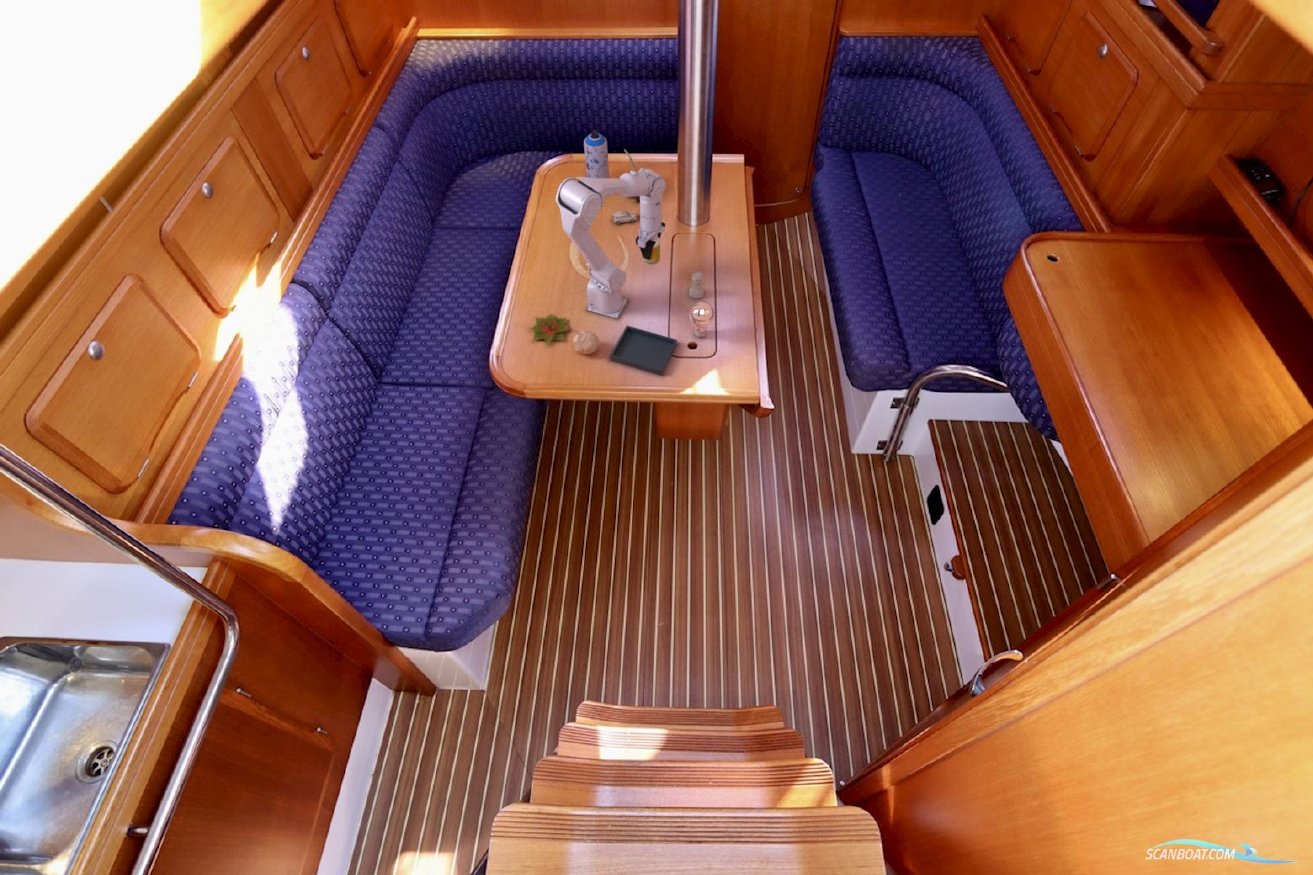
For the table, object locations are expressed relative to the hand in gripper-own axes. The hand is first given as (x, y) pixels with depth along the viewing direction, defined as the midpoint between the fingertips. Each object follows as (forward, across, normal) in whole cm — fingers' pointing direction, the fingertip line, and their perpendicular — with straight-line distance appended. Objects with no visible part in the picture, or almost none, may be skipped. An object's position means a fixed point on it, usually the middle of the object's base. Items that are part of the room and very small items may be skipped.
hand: (650, 252), depth 189 cm
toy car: (+10, +22, +18) cm, 30 cm away
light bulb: (+10, -17, -22) cm, 29 cm away
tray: (+10, -29, -9) cm, 32 cm away
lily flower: (+10, -30, +19) cm, 37 cm away
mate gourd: (+10, +36, +18) cm, 41 cm away
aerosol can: (+10, +36, +32) cm, 49 cm away
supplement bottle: (+3, 0, 0) cm, 3 cm away
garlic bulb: (+10, -34, +6) cm, 36 cm away
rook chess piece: (+10, -2, -15) cm, 18 cm away
